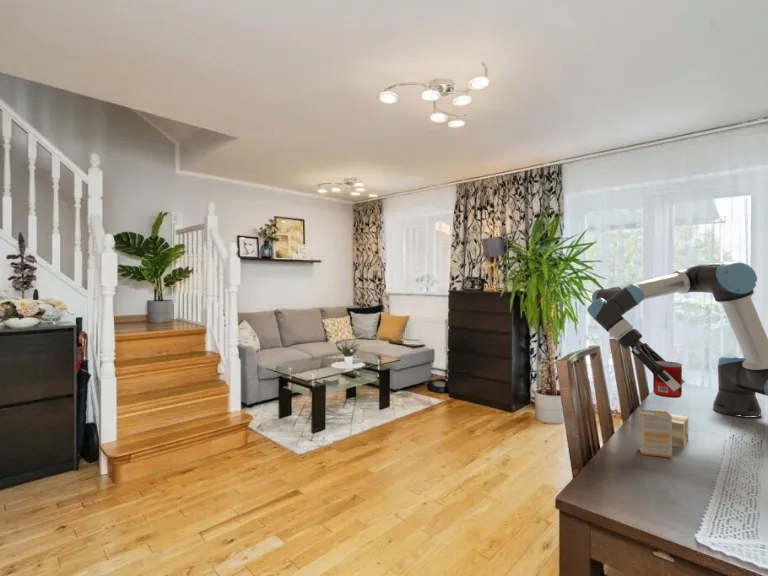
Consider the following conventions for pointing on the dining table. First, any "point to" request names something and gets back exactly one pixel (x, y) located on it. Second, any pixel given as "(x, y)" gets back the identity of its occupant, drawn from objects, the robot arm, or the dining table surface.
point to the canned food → (661, 387)
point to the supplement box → (655, 433)
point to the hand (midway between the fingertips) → (679, 386)
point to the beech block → (679, 430)
